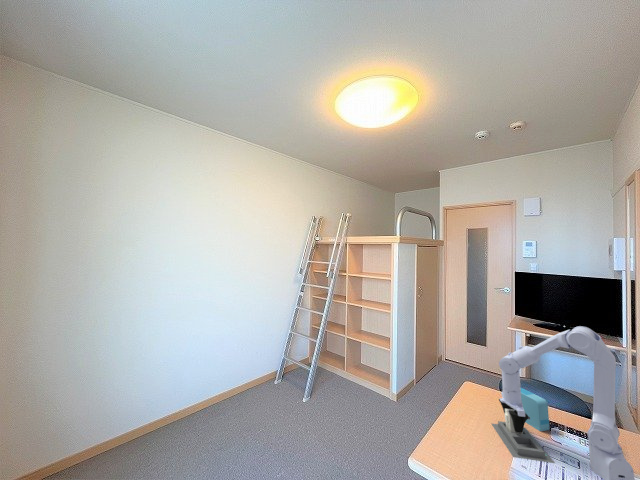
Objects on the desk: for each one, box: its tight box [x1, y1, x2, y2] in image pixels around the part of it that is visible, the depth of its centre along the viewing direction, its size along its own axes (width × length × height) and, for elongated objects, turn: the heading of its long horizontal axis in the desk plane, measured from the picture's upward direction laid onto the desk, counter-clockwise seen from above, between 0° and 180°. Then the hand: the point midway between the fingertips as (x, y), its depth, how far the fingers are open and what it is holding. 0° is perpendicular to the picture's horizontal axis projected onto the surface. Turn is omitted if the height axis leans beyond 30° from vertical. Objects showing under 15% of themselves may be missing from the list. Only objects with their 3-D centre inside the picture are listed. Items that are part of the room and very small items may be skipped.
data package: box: [514, 387, 550, 432], centre depth 108 cm, size 12×4×12 cm, turn 11°
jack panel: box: [491, 421, 556, 464], centre depth 96 cm, size 19×12×3 cm, turn 166°
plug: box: [504, 409, 530, 434], centre depth 100 cm, size 4×8×8 cm, turn 76°
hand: (513, 426), depth 100 cm, fingers open, 7 cm apart
